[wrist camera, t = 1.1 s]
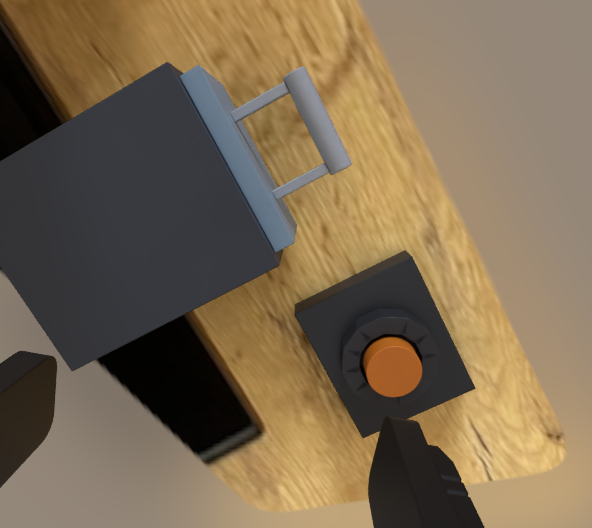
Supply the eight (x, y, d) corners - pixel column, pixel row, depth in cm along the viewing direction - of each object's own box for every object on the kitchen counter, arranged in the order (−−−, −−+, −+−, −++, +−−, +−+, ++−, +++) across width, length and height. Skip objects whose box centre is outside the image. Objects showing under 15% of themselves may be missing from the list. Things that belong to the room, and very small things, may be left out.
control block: (294, 304, 34) (293, 323, 30) (405, 249, 33) (418, 262, 29) (359, 422, 36) (366, 454, 32) (465, 374, 35) (485, 401, 31)
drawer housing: (205, 87, 31) (167, 61, 22) (286, 238, 33) (279, 266, 25) (41, 182, 32) (-52, 191, 24) (128, 319, 35) (71, 371, 26)
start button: (354, 349, 31) (356, 361, 29) (402, 327, 30) (408, 337, 29) (377, 392, 32) (381, 406, 30) (425, 371, 31) (431, 383, 29)
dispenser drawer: (289, 46, 29) (283, 14, 23) (360, 192, 31) (374, 201, 25) (66, 175, 31) (1, 180, 25) (145, 303, 33) (105, 340, 27)
